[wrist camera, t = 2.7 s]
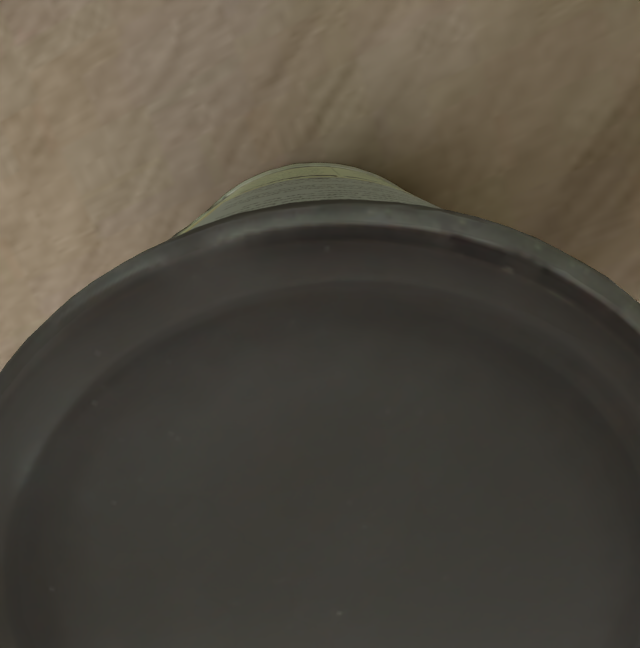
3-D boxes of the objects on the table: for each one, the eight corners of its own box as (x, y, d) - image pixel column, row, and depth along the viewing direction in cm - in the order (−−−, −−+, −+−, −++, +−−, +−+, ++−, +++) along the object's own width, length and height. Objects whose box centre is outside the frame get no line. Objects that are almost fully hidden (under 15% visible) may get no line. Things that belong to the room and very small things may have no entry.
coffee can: (465, 424, 23) (709, 848, 9) (197, 450, 23) (43, 913, 9) (459, 143, 19) (817, 155, 6) (148, 174, 19) (-197, 256, 6)
